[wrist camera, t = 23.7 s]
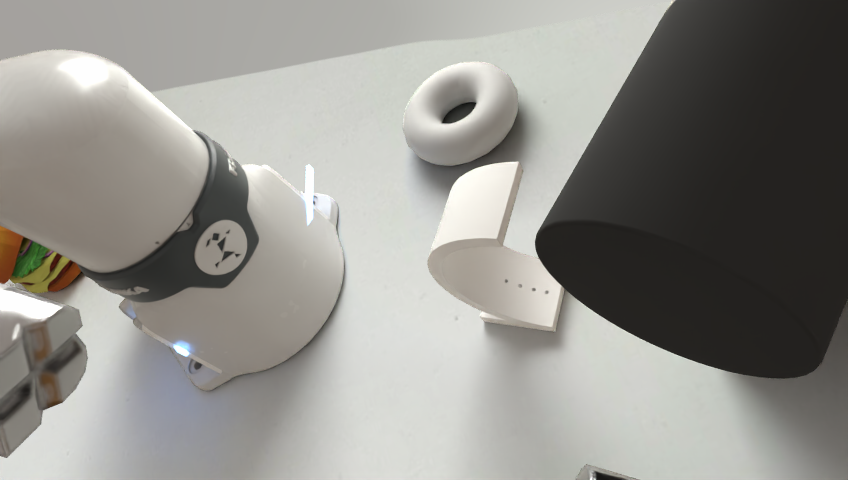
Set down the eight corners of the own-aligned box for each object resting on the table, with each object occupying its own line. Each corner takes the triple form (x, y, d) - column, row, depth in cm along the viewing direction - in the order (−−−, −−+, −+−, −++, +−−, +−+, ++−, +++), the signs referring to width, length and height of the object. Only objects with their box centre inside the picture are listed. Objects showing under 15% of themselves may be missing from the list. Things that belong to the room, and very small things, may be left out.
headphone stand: (555, 332, 38) (496, 239, 28) (469, 319, 41) (391, 231, 31) (569, 268, 40) (519, 161, 30) (486, 260, 43) (417, 161, 33)
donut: (417, 190, 49) (534, 148, 46) (398, 166, 46) (520, 120, 43) (410, 106, 55) (513, 64, 51) (392, 80, 52) (500, 34, 49)
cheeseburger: (107, 270, 60) (-2, 235, 53) (52, 322, 64) (-56, 295, 57) (113, 199, 66) (16, 159, 59) (62, 250, 70) (-34, 218, 63)
